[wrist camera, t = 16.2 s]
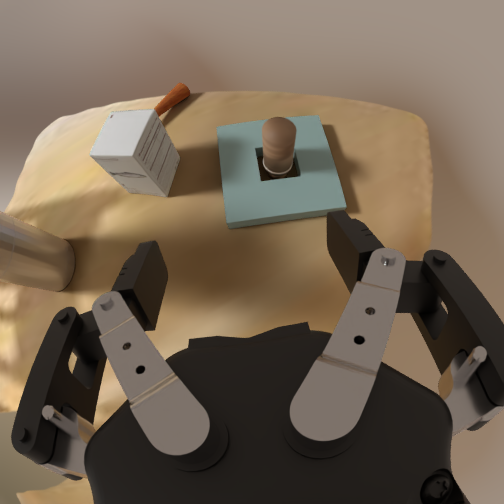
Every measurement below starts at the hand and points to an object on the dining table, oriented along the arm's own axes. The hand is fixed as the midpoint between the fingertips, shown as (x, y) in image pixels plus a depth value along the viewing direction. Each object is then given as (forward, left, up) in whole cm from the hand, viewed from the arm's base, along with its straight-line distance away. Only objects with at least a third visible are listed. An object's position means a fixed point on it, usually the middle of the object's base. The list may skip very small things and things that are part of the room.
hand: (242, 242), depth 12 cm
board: (+5, +16, -23) cm, 29 cm away
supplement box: (-14, +19, -24) cm, 34 cm away
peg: (+5, +16, -23) cm, 29 cm away
